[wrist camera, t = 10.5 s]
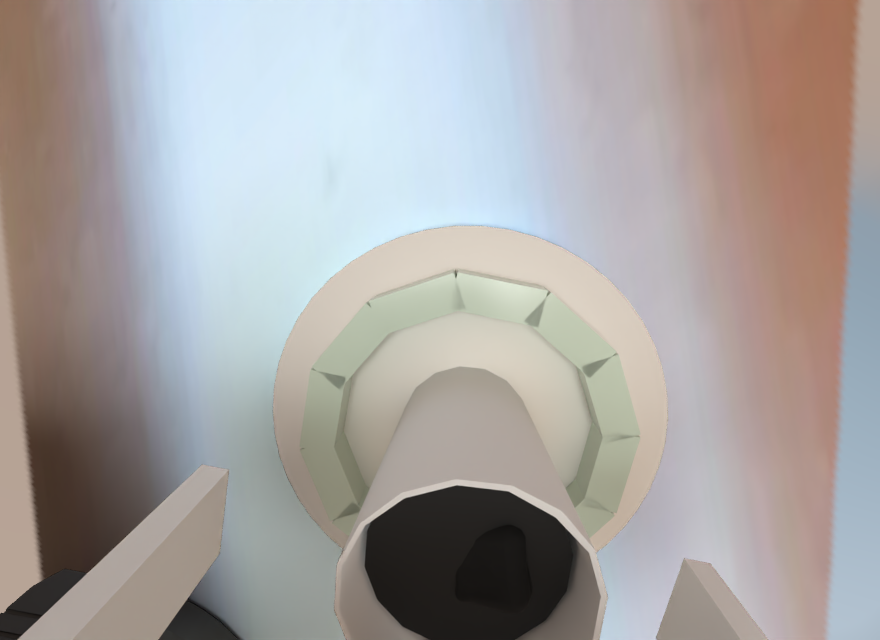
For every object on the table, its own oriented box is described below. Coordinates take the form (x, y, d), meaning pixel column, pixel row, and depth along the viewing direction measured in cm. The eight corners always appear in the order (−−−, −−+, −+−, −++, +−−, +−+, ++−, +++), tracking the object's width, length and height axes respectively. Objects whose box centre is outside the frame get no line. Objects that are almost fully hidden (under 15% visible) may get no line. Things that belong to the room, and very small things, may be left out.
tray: (263, 536, 24) (237, 576, 21) (308, 189, 20) (284, 184, 18) (598, 607, 24) (616, 656, 21) (708, 269, 20) (746, 277, 17)
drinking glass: (534, 350, 20) (603, 469, 10) (542, 487, 21) (611, 710, 12) (384, 362, 20) (313, 488, 11) (401, 496, 22) (352, 717, 12)
